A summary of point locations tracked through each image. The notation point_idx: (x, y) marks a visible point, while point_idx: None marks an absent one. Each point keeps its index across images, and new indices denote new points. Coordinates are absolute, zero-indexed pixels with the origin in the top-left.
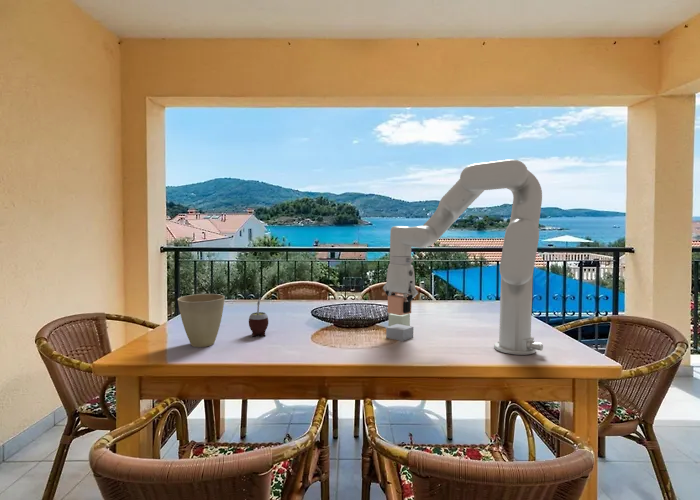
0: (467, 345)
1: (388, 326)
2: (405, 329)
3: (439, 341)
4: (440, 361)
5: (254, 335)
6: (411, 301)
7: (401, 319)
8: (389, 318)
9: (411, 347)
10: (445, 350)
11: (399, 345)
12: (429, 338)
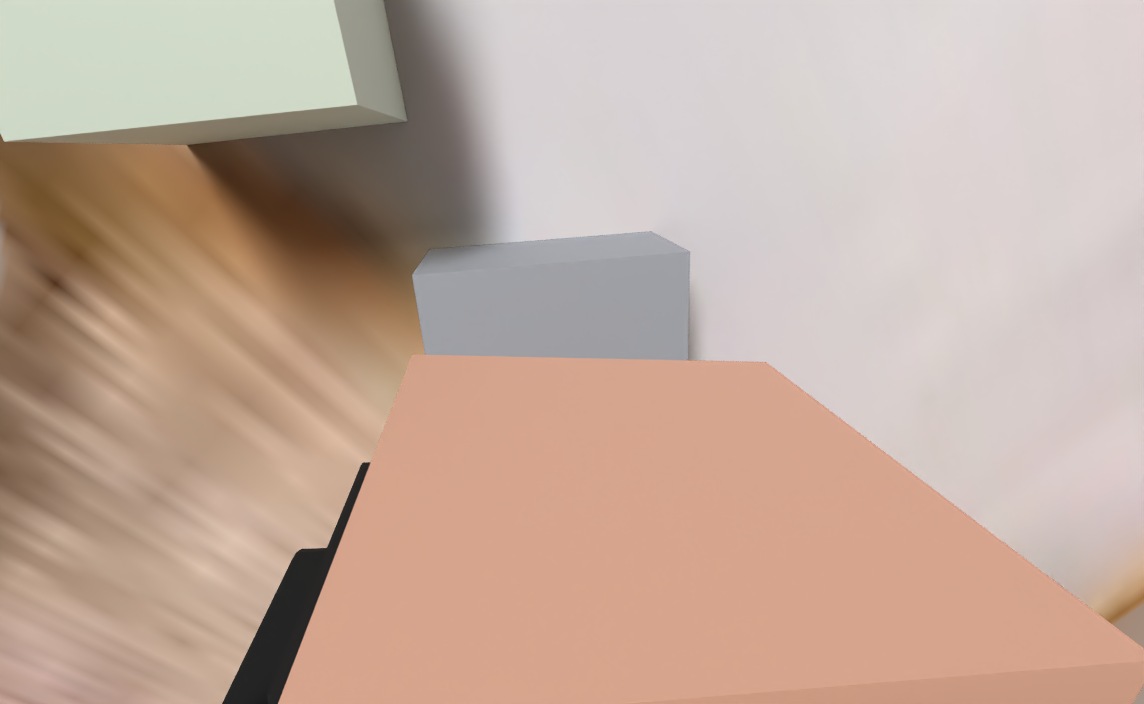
0: None
1: (162, 143)
2: None
3: (941, 183)
4: (1066, 587)
5: None
6: (957, 508)
7: (356, 110)
8: (95, 141)
9: None
10: (1051, 387)
11: None
12: (816, 153)
